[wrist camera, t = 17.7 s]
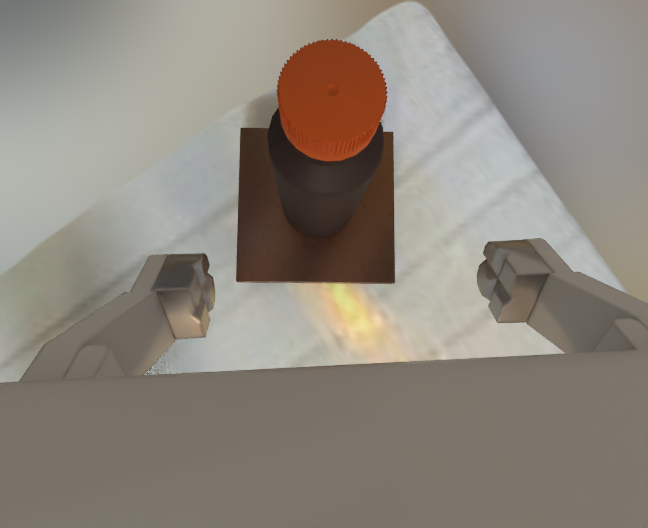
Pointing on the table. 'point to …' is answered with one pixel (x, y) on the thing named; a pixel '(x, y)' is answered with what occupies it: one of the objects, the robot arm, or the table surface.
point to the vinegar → (326, 134)
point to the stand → (302, 251)
